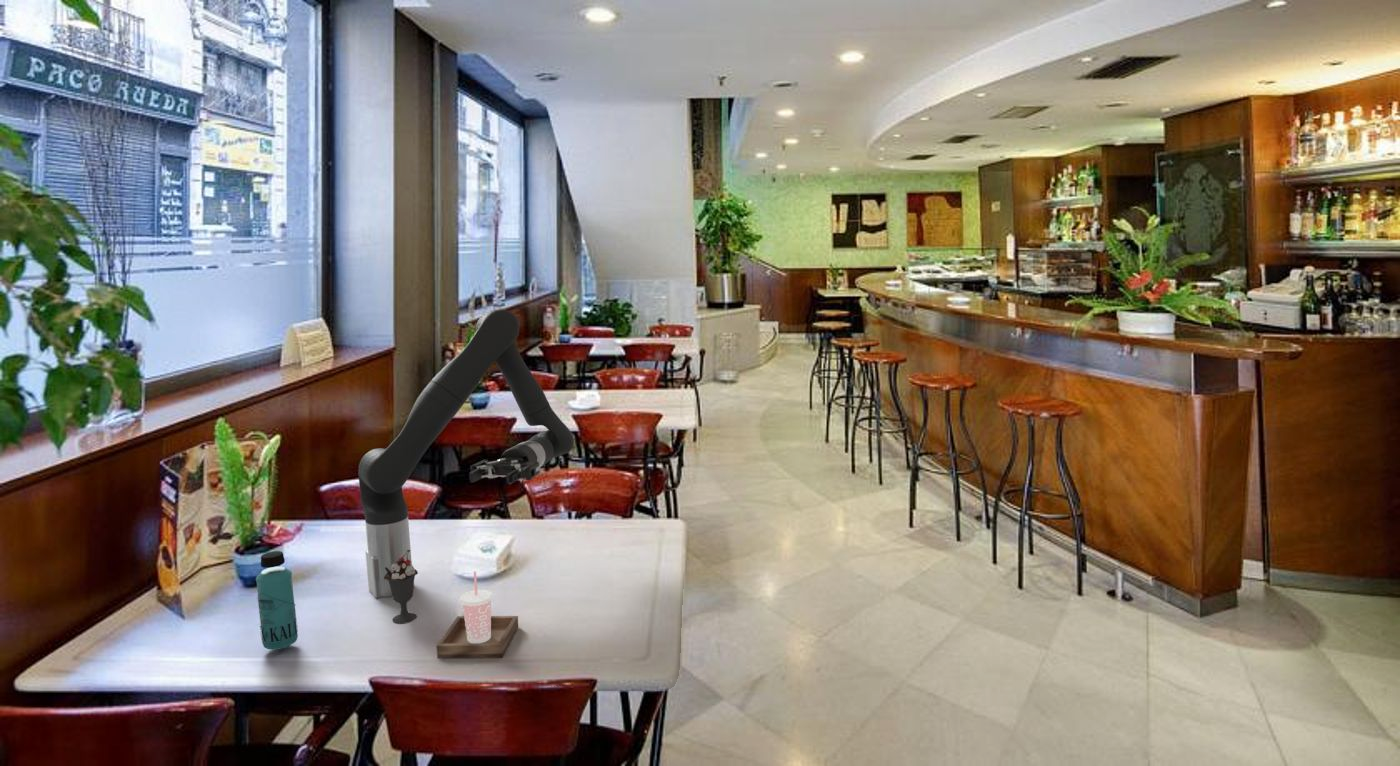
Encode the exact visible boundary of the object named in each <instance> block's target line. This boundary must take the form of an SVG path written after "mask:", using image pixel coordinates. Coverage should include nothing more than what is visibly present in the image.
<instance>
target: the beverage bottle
mask: <svg viewBox="0 0 1400 766" xmlns="http://www.w3.org/2000/svg"><path fill="white" fill-rule="evenodd" d="M283 564H285V556H284V552H283V551H279V550H275V551H267V552H265V553H263V554H261V556H260V566H261V568H263V570H262V571H260V573H258V575H257V576H256V577H255V581H256V588H257V603H258V613H259V621H260V622H259V624H260V625H259V628H260V633H261V634H260V638H261V642H262V643H261V644H262V645H263V648H264V649H267V650H279V649H284V648H287V647H289V646H292V645H293V644H295V643H296V642H297V641H298V637H299V634H298V629H299V628H298V623H297V620H298V619H297V614H296V613H297V612H296V603H295V597H294V586H293V572H292V571H291V570H290V569H288V568H286V567H285V566H281V565H283ZM264 568H265V569H264Z"/></svg>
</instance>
